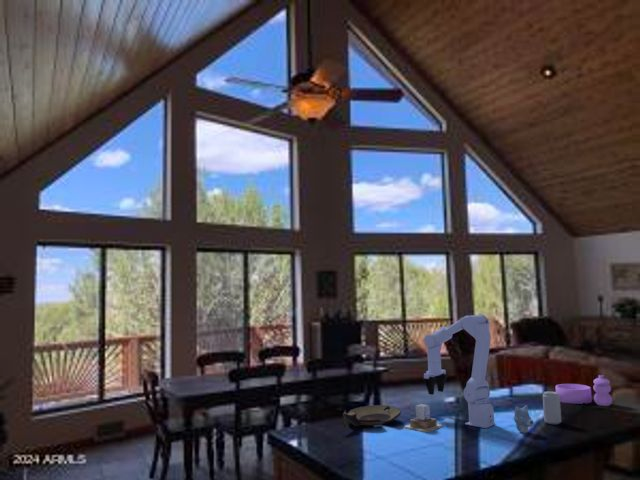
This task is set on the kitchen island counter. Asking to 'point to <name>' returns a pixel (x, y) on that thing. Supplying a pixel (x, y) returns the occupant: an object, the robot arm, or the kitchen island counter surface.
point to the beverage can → (551, 407)
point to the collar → (423, 425)
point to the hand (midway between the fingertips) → (435, 392)
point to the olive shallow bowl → (372, 415)
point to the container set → (586, 392)
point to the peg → (422, 412)
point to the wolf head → (522, 419)
